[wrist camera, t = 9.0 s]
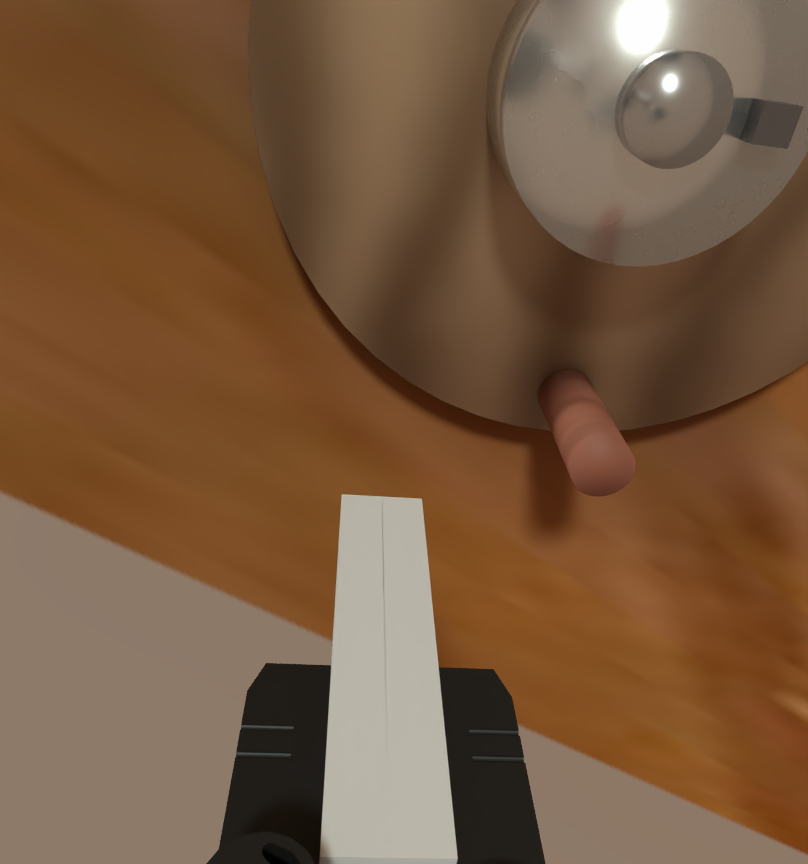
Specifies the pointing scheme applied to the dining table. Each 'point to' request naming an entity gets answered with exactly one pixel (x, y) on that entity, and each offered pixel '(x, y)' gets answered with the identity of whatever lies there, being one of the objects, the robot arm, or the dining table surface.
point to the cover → (649, 119)
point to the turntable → (497, 241)
